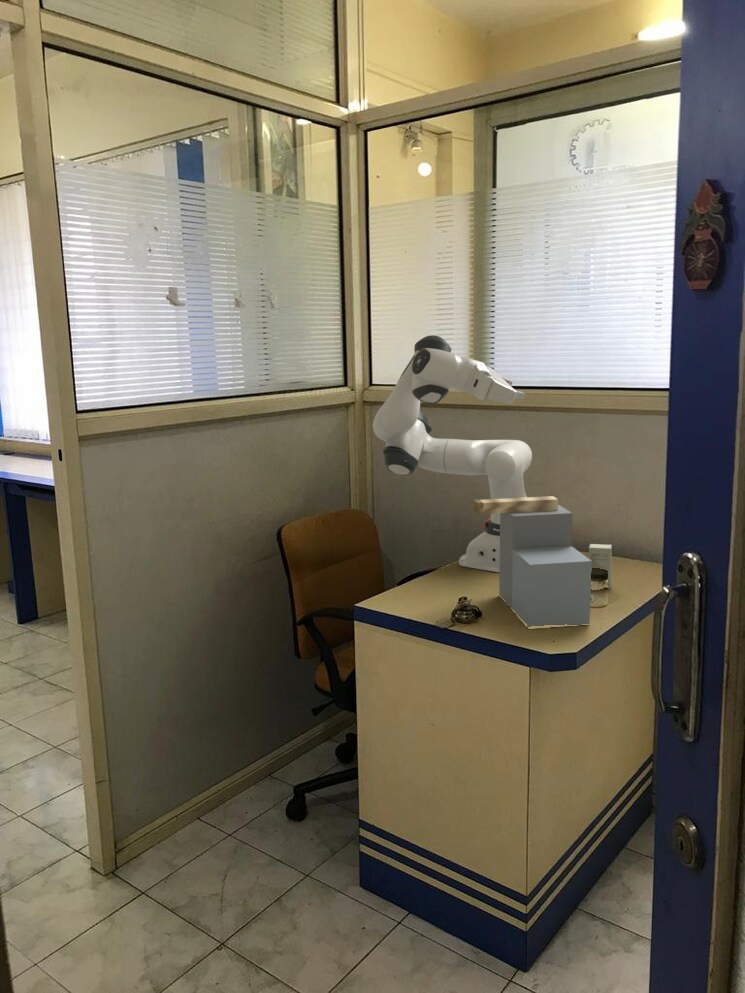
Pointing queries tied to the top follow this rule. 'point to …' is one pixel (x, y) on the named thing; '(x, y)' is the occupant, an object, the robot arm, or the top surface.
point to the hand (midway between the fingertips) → (517, 390)
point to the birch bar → (515, 505)
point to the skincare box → (601, 558)
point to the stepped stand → (543, 569)
